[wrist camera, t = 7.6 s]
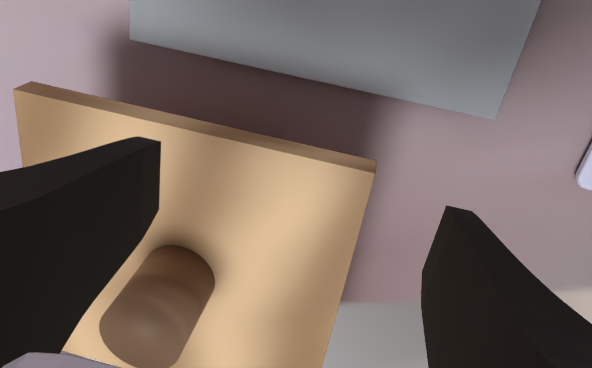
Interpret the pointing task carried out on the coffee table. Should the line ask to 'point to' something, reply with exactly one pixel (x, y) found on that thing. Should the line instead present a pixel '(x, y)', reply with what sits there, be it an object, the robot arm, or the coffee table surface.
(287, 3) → the grey flat square slab
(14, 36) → the coffee table surface
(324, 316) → the oak lid
